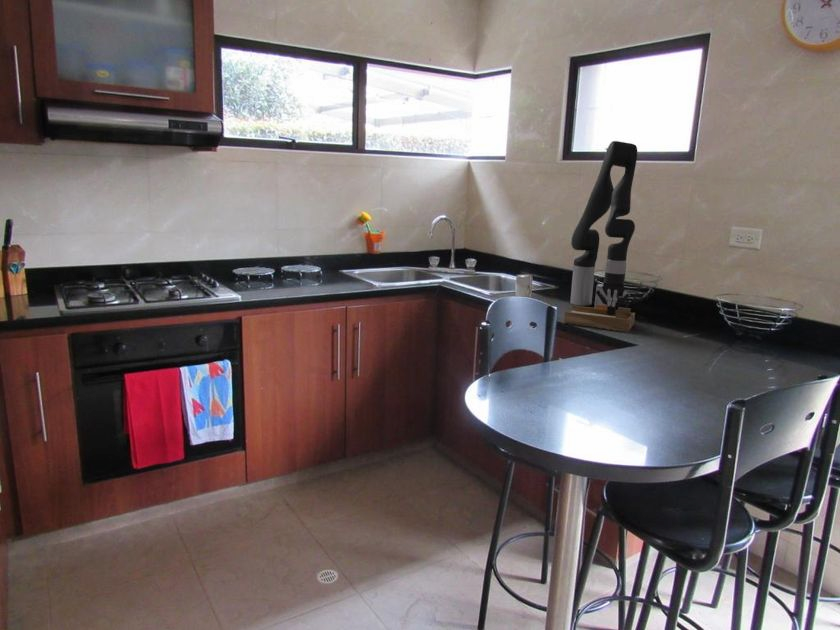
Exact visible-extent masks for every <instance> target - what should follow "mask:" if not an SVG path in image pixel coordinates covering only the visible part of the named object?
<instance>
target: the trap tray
mask: <svg viewBox="0 0 840 630" xmlns="http://www.w3.org/2000/svg"><path fill="white" fill-rule="evenodd" d="M616 313H617V310H615V314H614V315H613V316H608V314H607V309H599V308H594V307H589V306H582V305H574V304H572V310H571V311H565V312H564V319H563V321H564V322H563V324H565V323H569V324H568V325H572V324H577V325H576V326H580V325H582V326H581V327H587V326H589V328H595V327H598V328H597V329H602V328H606V329H605V330H610V329H612V331H617V330H618V332H626V333H629V332H630V330H631V328H633V326H634V325H635V316H636V312H631V311H630V317H629V318H628V319H621V318H616Z"/></svg>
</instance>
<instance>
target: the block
mask: <svg viewBox="0 0 840 630" xmlns="http://www.w3.org/2000/svg"><path fill="white" fill-rule="evenodd" d="M617 307H618V308H617V309H616V311H617V313H616V318H621V319H628V318H629V317H630V312H631V311H632V309H631V307H630V308H629V307H621V306H617Z"/></svg>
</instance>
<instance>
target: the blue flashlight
mask: <svg viewBox="0 0 840 630" xmlns="http://www.w3.org/2000/svg"><path fill="white" fill-rule="evenodd" d="M514 288H515V289H514V290H515V291H514V292H515V297H516V296H521V297H530V298H531V295H532V291H533V275H531V274H530V275H529V274H516V278H515V286H514Z"/></svg>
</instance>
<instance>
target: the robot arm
mask: <svg viewBox="0 0 840 630" xmlns="http://www.w3.org/2000/svg"><path fill="white" fill-rule="evenodd" d="M637 159H638V147H637V145H636V144H633V143H629V142H624V141H618V140H613V141H611V142H610V143H609V144H608V147H607V149H606V151H605V155H604V157H603V161H602V164H601V168H600V169H599V173H598V176H597V178H596V181H595V183H594V186H593V189H592V190H591V192H590V196H588V197H589V198H588V200H587V204H586V207H585V209H584V211H583V213H582V215H581V218H580V219H579V222H578V224H577V225H576V227H575V229H574V231H573V233H572V236H571V247H572V249H573V250H575V251H584V253H583V254H582V255H580V256H578V257H576V258H574V260H573V265H572V266H573V267H572V279H571V291H570V302H569V303H570V304H571V305H574V306H582V307H589V306H591V305H592V303H593V301H592V300H593V290H594V280H595V269H596V263H597V262H596V261H597V259H598V253H599V247H600V233H599V232H598V230H597V229H591V227H592V226H593V225H594V224H595V223H596V222H598V220H600V219H601V218H602V217H604V216H605V215H606V213H607V212H608V211H609V210H610V212H609V216H608V220H607V222H606V224H605V226H604V233H605V235H606V236H607V237H608V238H616V239H617V238H619V239H620V238H621V239H622V241H620V242H616V243H612V244H609V246H608V248H607V254H606V255H607V256H606V257H607V258H606V263H605V266H604V267H605V268H604V277H603V278H604V279H603V284H602V285H603V286H602V288H601V289H600V290H597V291H596V290H595V294H596V293H597V295H598V296H599V298H600V299H601V301H602V303H603V304H606V305H607V314H608V316H613V315H614V314H615V311H616V307H620V306H621V305H622V303H624V302H625V301H626V300H627V299H628V298H629V297H630V295H631V293H629V292H627V290H626V287H625V280H626V274H627V273H626V270H627V255H628V249H629V245H630V243H631V240H632V238H633V235H634V233H635V229H636V225H635V222H634V220H632V219H628V218H626V219H625V218H621V217H624V216H628V215H629V214H630V212H631V203H632V202H631V201H632V199H631V198H632V197H631V195H632V186H633V183H634V182H633V181H634V176H635V171H636V164H637ZM613 166H615V167H621V168H624V169H625V171H624V173H623V176H622V178H621V179H620V180H619V182H618V183H617V184H616V186H614V185H613V182H612V177H611V171H612V168H613ZM603 291H604V293H605V295H606V296H607V300H606V299H605V297H604V296H603ZM621 295H622V298H620V300H619V301H618V298H619V297H620V296H621Z"/></svg>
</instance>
